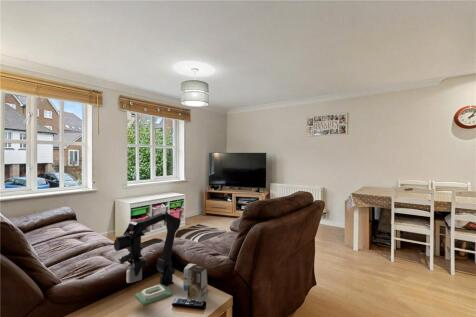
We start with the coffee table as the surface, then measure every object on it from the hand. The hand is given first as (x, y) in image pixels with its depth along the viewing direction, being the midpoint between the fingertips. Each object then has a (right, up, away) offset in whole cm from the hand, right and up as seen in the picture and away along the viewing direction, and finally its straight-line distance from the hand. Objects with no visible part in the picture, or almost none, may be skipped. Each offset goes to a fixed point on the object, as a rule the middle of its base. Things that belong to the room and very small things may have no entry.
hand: (135, 274), depth 130 cm
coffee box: (+33, -14, +1) cm, 36 cm away
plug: (0, -3, 0) cm, 3 cm away
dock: (+9, -13, +3) cm, 16 cm away
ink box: (+27, -14, +13) cm, 33 cm away
